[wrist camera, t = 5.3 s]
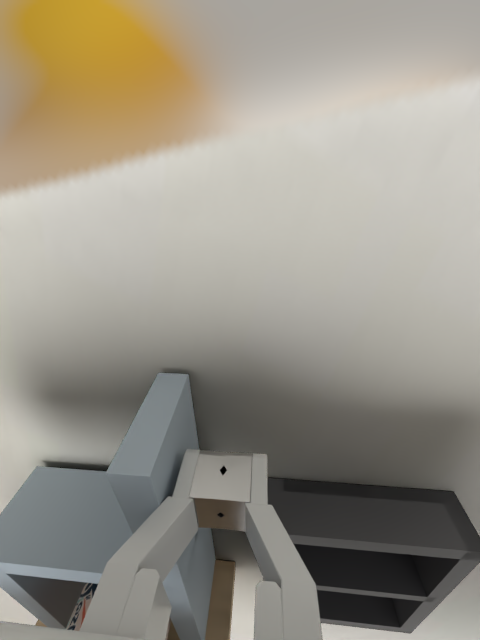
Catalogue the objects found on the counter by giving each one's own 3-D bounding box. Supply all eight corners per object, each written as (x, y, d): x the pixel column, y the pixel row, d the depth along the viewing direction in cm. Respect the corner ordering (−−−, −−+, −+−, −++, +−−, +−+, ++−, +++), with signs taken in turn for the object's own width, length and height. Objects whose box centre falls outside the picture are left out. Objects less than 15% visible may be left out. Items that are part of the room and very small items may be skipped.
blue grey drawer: (188, 373, 11) (149, 476, 7) (215, 558, 19) (203, 648, 15) (-29, 364, 11) (-159, 452, 8) (88, 545, 19) (49, 628, 16)
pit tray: (453, 491, 13) (488, 552, 11) (394, 581, 19) (410, 633, 17) (267, 477, 14) (267, 532, 12) (262, 567, 19) (262, 615, 17)
